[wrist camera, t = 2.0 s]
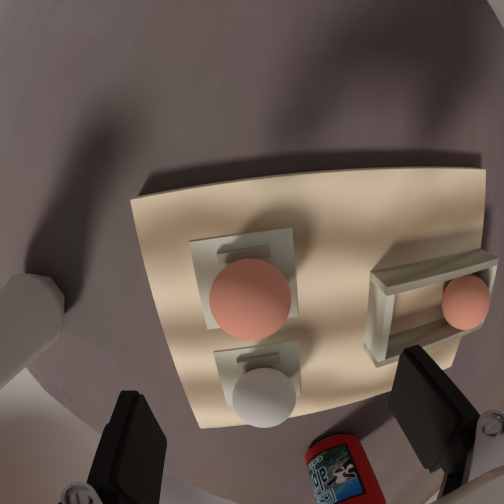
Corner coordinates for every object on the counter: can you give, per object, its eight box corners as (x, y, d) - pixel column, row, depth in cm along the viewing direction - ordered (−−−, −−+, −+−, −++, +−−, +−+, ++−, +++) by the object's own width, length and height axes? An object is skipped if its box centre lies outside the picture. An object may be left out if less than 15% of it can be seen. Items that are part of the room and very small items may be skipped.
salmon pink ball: (204, 253, 17) (199, 286, 13) (280, 242, 17) (297, 272, 13) (217, 317, 18) (216, 361, 14) (285, 307, 18) (301, 349, 14)
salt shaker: (43, 248, 17) (-78, 344, 5) (88, 309, 19) (4, 441, 7) (10, 285, 18) (-83, 375, 5) (50, 337, 20) (-20, 447, 7)
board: (137, 196, 17) (115, 207, 13) (473, 167, 18) (507, 174, 14) (200, 416, 23) (199, 450, 20) (444, 358, 25) (463, 379, 21)
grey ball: (226, 359, 19) (228, 405, 15) (288, 350, 20) (302, 394, 15) (235, 399, 21) (239, 442, 17) (290, 391, 21) (302, 432, 17)
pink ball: (436, 270, 19) (471, 295, 15) (470, 261, 19) (505, 282, 15) (427, 318, 20) (457, 347, 16) (462, 306, 21) (491, 330, 17)
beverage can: (322, 428, 26) (353, 520, 15) (368, 429, 27) (404, 507, 16) (292, 458, 28) (312, 541, 16) (337, 459, 29) (362, 531, 18)
